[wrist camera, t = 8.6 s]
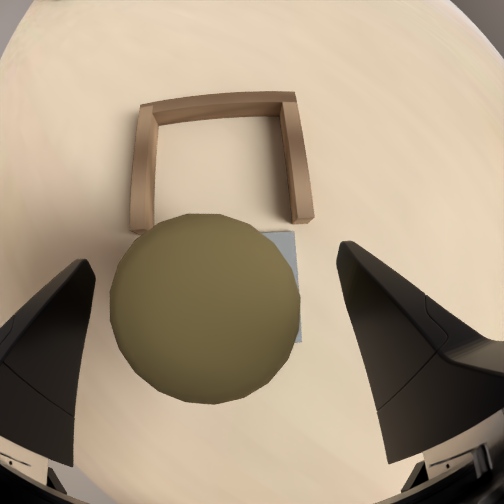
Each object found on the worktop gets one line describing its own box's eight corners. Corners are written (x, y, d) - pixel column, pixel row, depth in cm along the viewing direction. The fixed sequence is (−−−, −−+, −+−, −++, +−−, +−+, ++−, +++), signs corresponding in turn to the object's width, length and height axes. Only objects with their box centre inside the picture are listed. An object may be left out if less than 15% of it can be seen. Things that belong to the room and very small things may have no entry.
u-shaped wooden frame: (307, 223, 17) (314, 217, 16) (140, 235, 17) (129, 230, 15) (290, 105, 18) (294, 91, 16) (147, 117, 18) (140, 104, 16)
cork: (160, 311, 16) (48, 350, 5) (206, 227, 17) (149, 140, 6) (245, 358, 16) (250, 471, 5) (292, 273, 17) (377, 260, 6)
